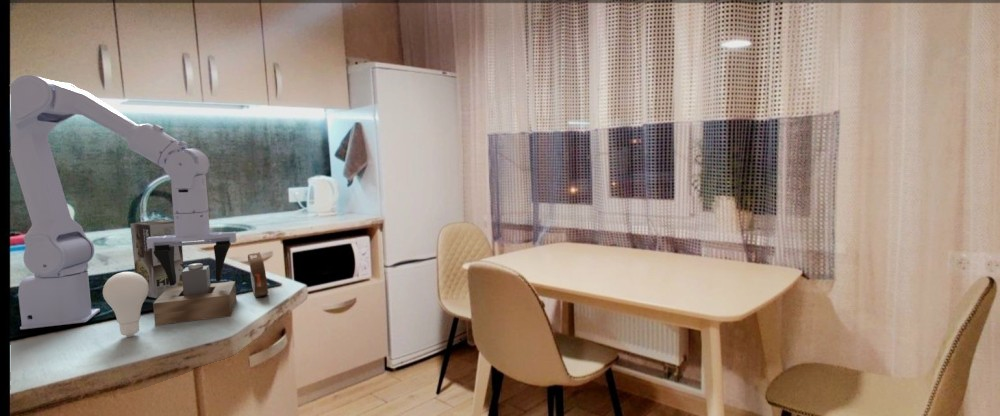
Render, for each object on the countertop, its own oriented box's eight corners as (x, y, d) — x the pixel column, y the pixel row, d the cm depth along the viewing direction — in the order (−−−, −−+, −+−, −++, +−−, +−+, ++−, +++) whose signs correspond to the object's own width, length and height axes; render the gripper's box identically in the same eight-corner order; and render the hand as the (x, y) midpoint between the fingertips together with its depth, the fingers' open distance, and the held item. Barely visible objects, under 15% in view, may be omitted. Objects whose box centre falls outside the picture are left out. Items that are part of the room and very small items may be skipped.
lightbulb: (111, 334, 86) (104, 270, 85) (154, 328, 89) (148, 266, 88) (104, 345, 80) (97, 278, 79) (150, 338, 83) (144, 273, 82)
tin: (269, 299, 106) (266, 260, 105) (252, 301, 105) (250, 261, 104) (263, 284, 119) (261, 249, 118) (248, 286, 118) (246, 250, 117)
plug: (184, 305, 95) (181, 267, 95) (188, 299, 99) (185, 263, 98) (208, 302, 97) (205, 265, 96) (211, 297, 101) (208, 261, 100)
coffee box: (187, 292, 113) (181, 220, 111) (155, 299, 107) (149, 224, 106) (167, 287, 118) (161, 218, 116) (135, 294, 112) (129, 222, 111)
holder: (154, 325, 90) (153, 303, 90) (169, 307, 101) (167, 287, 101) (230, 316, 95) (229, 295, 94) (236, 299, 106) (235, 281, 105)
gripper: (140, 216, 90) (146, 291, 91) (231, 211, 95) (236, 282, 96) (149, 212, 96) (155, 282, 97) (235, 208, 102) (239, 274, 103)
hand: (196, 282), depth 97 cm, fingers open, 7 cm apart
